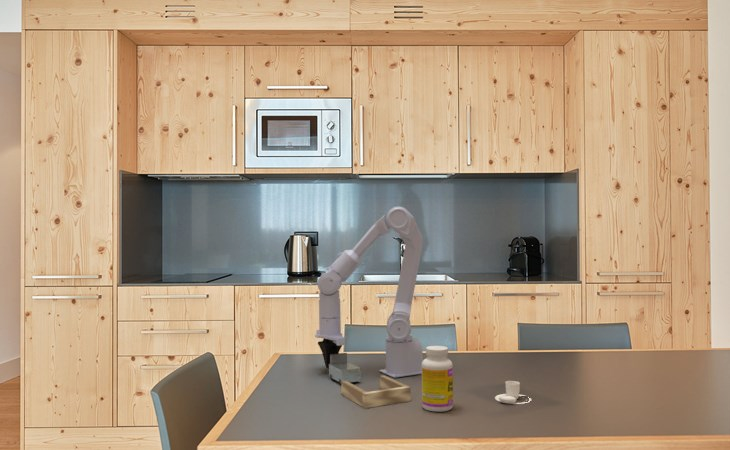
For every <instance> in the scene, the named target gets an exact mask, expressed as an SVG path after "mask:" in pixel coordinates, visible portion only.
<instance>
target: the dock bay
mask: <svg viewBox="0 0 730 450" xmlns="http://www.w3.org/2000/svg"><path fill="white" fill-rule="evenodd" d="M340 385H341V386H340V387H341V391H340V392H341V393H340V394H341V395H342V396H344V397H345V398H347V399H349V400H350V401H352V402H354V403H356V404H357V405H359V406H361V407H362V408H364V409H368V408H375V407H380V406H386V405H387V406H388V405H393V404H400V403H405V402H411V399H412V398H411V393H412V392H411V390H412V389H411V386H409V385H407V384H404V383H403V382H400V381H397V380H396V379H393V378H392V377H390V376H387V375H386V374H384V375H379V389H378V390H373V391H366V390H364V389H363V388H360V387H358V386H357V385H355V384H353V383H352V382H350V383H349V382H347V381H341V384H340Z"/></svg>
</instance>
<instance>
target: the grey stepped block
mask: <svg viewBox="0 0 730 450" xmlns="http://www.w3.org/2000/svg"><path fill="white" fill-rule="evenodd" d="M361 370H362V368H361V367H359V366H357V365H356V364H353V363H351V362H348V352H342V353H341V352H339V353H338V354H330V364H329V369H328V377H329V379H330V380H332V381H333V380H335V381H337V382H338V383H339V384H340V385H341V381H347V382H349V383H355V384H357V383H359V382H361V381H362V375H361V374H362V371H361Z"/></svg>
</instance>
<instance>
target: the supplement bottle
mask: <svg viewBox="0 0 730 450" xmlns="http://www.w3.org/2000/svg"><path fill="white" fill-rule="evenodd" d="M425 354H426V358H424V359H423V362H422V374H421V407H422V408H423V409H424V410H426V411H428V412H438V413H440V412H441V413H442V412H449V411H451V410H452V409H453V407H454V376H453V375H454V367H453V366H454V365H453V362H452V361H451V360H450V359H449V358H448V354H449V347H447V346H444V345H429V346H426V347H425Z"/></svg>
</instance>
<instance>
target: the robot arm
mask: <svg viewBox="0 0 730 450" xmlns="http://www.w3.org/2000/svg"><path fill="white" fill-rule="evenodd" d="M418 226H419V225H418V224H417V222H416V219H415V217H414V216H413V215H412V214H411V212H410V211H409V210H408V209H407V208H405V207H403V206H394V207H392V208H390V209H389V211H387V214H384V215H383V216H381V218H379V219H378V220H376V222H375V223H374V224H372V225H371V227H370V228H369V229H368V230H367V232H366V233H365V234H364V235H363V236H362V238H360V240H358V242H356V244H355V245H354V246H353V248H352V249H345V250H344V251H340V252H339V253H338V254H337V258H336V259H335V260H334V262H333V263H332V264H331V265H329V266H327V267H326V268H325V271H326V272H324V273H322V274H320V277H319V278H318V280H317V289H318V290H319V294H318V298H319V300H318V322H319V323H318V327H319V328H318V329H316V333H315V334H314V337H315V338H317V339H322V340H321V341H320V340H319V341H318V342H317V345H318V347H319V349H320V351H321V353H322V354H321V355H322V357H323V363H324V366H325V368H326V369H328V370H329V364H330V354H339V353H340V350H341V349H342V347H343V346H345V345H346V344H345V343H346V342H345V341H346V339H345V337H344V336H343V333H342V330H341V329H342V327H341V299H340V289H341V287H342V283H344V282H346V281H347V280H348V279H349V278H350V277H351V276H352V274H354V273H355V272H356V270H357V269H358V268H359V267H360V266H361V263H362V262H361V261H362V260H361V257H362V256H363V255H364V254H365V253H366V252H367V251H368V250H369V249H370V248H371V246H373V245H374V244H375V243H376V242H377V240H378V239H379V238H380V237H382V236H384V235H386V234H387V235H388V234H390V233H391V229H392V230H393V231H394V232H395V233H397V234H398V235H399V237H400V239H401V240H402V241H403V243H404V245H405V246H404V251H403V255H402V262H401V265H400V273H399V278H398V282H397V283H398V284H397V288H396V294H395V300H394V304H393V309H392V313H391V315H389V316H388V319H387V322H386V332H387V336H385V368H384V369H383V368H382V369H379V372H380V373H383V374H384V375H386V376H387V375H388V377H390V378H400V377H409V376H414V375H415V376H416V375H422V362H423V360H424V359H423V358H424V357H423V355H424V354H423V353H424V351H423V346H422V343H421V340H420V339H418V338H416V337H415V338H413V335H411V332H412V325H411V321H410V318H411V312H412V305H413V298H414V293H415V287H416V282H417V276H418V272H419V267H420V261H421V256H422V250H423V245H424V237H423V235H422V233H421V231H420V229H419V227H418Z"/></svg>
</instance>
